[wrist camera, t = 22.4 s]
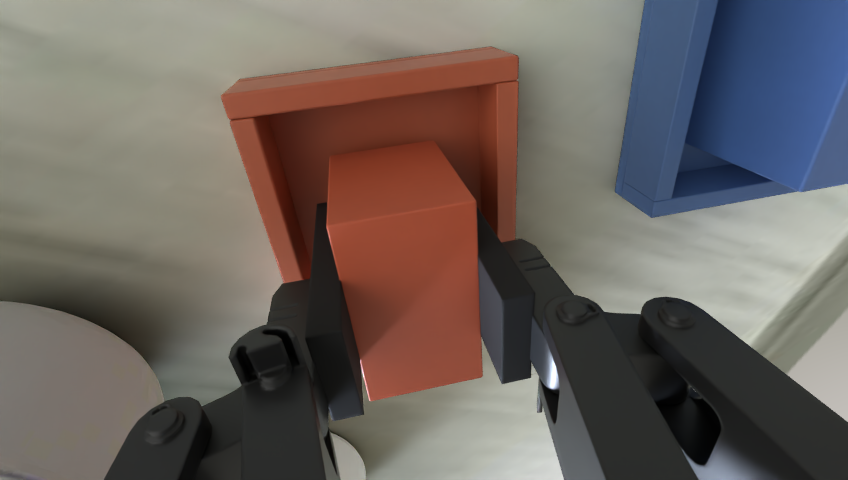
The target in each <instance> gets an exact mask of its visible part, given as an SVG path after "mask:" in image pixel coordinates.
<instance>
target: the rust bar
mask: <svg viewBox="0 0 848 480" xmlns="http://www.w3.org/2000/svg"><path fill="white" fill-rule="evenodd" d="M326 228H327V232H328V236H329V240H330V244H331V248H332V252H333V256H334V260H335V264H336V268H337V272H338V276H339V280H341V284H342V288H343V292H344V296H345V300H346V304H347V308H348V312H349V316H350V320H351V324H352V328H353V332H354V336H355V340H356V344H357V348H358V352H359V357H360V364H361V369H362V373H363V377H364V381H365V385H366V389H367V393H368V397H369V400H370V401H374V400H379V399H384V398H388V397H393V396H397V395H402V394H407V393H411V392H416V391H421V390H425V389H430V388H435V387H439V386H444V385H448V384H453V383H458V382H462V381H467V380H472V379H476V378H481V377H482V376H483V370H482V342H481V330H480V303H479V277H478V231H477V203H476V200H475V199H474V197H473V196H472V194H471V193H470V191H469V190H468V189H467V187H466V186H465V184H464V183H463V181H462V180H461V179H460V177H459V176H458V174H457V173H456V171H455V170H454V168H453V167H452V166H451V164H450V163H449V161H448V160H447V158H446V157H445V156H444V154H443V153H442V151H441V150H440V148H439V147H438V146H437V144H436V143H435V141H434V140H431V141H425V142H418V143H411V144H405V145H398V146H392V147H385V148H379V149H372V150H365V151H359V152H352V153H346V154H339V155H332V156H330V159H329V181H328V202H327V223H326Z"/></svg>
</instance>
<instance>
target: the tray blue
mask: <svg viewBox="0 0 848 480" xmlns="http://www.w3.org/2000/svg"><path fill="white" fill-rule="evenodd" d="M717 4H718V0H645V3H644V9H643V16H642V22H641V28H640V35H639V41H638V48H637V54H636V60H635V67H634V73H633V79H632V86H631V92H630V98H629V105H628V111H627V118H626V124H625V130H624V137H623V143H622V149H621V156H620V162H619V169H618V175H617V181H616V188H615V192H616V193H617V194H618V195H620V196H622V197H623V198H624V199H625V200H627V201H628V202H630V203H631V204H633V205H634V206H635V207H637V208H638V209H640V210H641V211H642V212H644V213H645V214H647V215H648V216H650V217H651V218H653V217H659V216H665V215H670V214H676V213H681V212H687V211H692V210H698V209H703V208H709V207H714V206H720V205H725V204H731V203H736V202H742V201H747V200H753V199H758V198H764V197H769V196H775V195H780V194H786V193H791V192H797V191H796V190H794V189H792V188H789V187H787V186H785V185H782V184H780V183H777V182H775V181H773V180H770V179H768V178H766V177H763V176H761V175H759V174H756V173H754V172H752V171H749V170H747V169H744V168H742V167H740V166H737V165H735V164H733V163H730V162H728V161H726V160H723V159H721V158H719V157H716V156H714V155H712V154H709V153H707V152H704V151H702V150H700V149H697V148H695V147H693V146H690V145H688V144H686V143H685V139H686V135H687V131H688V126H689V122H690V118H691V114H692V109H693V105H694V101H695V97H696V93H697V88H698V84H699V80H700V76H701V71H702V67H703V63H704V59H705V55H706V50H707V46H708V42H709V38H710V33H711V29H712V25H713V21H714V17H715V12H716V8H717Z"/></svg>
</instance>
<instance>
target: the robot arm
mask: <svg viewBox="0 0 848 480" xmlns="http://www.w3.org/2000/svg"><path fill="white" fill-rule="evenodd" d="M326 223H327V202H325V203H319V204H317V208H316V219H315V231H314V242H313V253H312V264H311V275H310V279H305V280H299V281H294V282H288V283H283V284H282V285H281V286H280V288H279V289H278V290H277V291H276V293H275V294H274V295H273V297H272V302H271V307H270V312H269V317H268V322H267V325H263V326H260V327H258V328H256V329H253V330H251V331H249V332H248V333H246V334H245V335H244V336H242V337H241V338H239V340H238V341H237V342H236V343H235V344H234V346H233V347H232V348H231V351H230V355H229V359H230V361H231V363H232V365H233V368H234V370H235V372H236V374H237V376H238V378H239V380H240V382H241V384H242V386H241V387H239V388H238V389H237V390H235V391H233V392H231V393H230V394H228V395H226V396H224V397H222V398H219V399H217V400H215V401H213V402H211V403H208V404H206V405H204V406H201V405H200V403H199V401H197V400H195V399H193V398H191V397H178V398H174V399H171V400H168V401H165V402H163V403H161V404H159V405H157V406H156V407H154V408H152V409H150V410H149V411H148V412H147V413H146V414H145V415H143V416H142V417H141V418H140V419H139V420H138V421H137V422H136V424H135V425H134V426H133V428H132V429H131V431H130V432H129V434H128V436H127V437H126V439H125V441H124V443H123V445H122V447H121V449H120V450H119V452H118V454H117V456H116V458H115V460H114V461H113V463H112V465H111V467H110V469H109V471H108V473H107V474H106V476H105V478H104V480H341V479H340V474H339V469H338V464H337V459H336V454H335V449H334V444H333V439H332V436H331V433H330V430H329V427H328V413H329V412H330V415H331V418H332V421H337V420H341V419H346V418H350V417H355V416H359V415H364V408H363V393H362V378H361V364H360V357H359V352H358V348H357V344H356V340H355V336H354V332H353V328H352V324H351V320H350V316H349V312H348V308H347V304H346V300H345V296H344V292H343V288H342V284H341V280H339V276H338V272H337V268H336V264H335V260H334V256H333V252H332V248H331V244H330V240H329V236H328V232H327V228H326ZM477 231H478V277H479V303H480V330H481V337H482V339H483V341H484V344H485V346H486V348H487V351H488V353H489V355H490V358H491V360H492V362H493V365H494V367H495V369H496V372H497V374H498V376H499V379H500V381H501V383H502V384H505V383H509V382H514V381H518V380H523V379H527V378H531V362H532V364H533V366H534V368H535V370H536V371H537V373H538V375H539V384H538V398H537V413H540V412H542V405H543V408H544V412H545V415H546V419H547V422H548V426H549V429H550V432H551V436H552V439H553V443H554V446H555V450H556V453H557V457H558V460H559V463H560V467H561V470H562V474H563V477H564V480H848V422H847V421H845V420H844V419H843V418H842V417H840V416H839V415H838V414H836V413H835V412H834V411H833V410H831V409H830V408H829V407H827V406H826V405H825V404H823V403H822V402H821V401H820V400H818V399H817V398H816V397H814V396H813V395H812V394H811V393H809V392H808V391H807V390H806V389H804V388H803V387H802V386H800V385H799V384H798V383H796V382H795V381H794V380H792V379H791V378H790V377H789V376H787V375H786V374H785V373H784V372H782V371H781V370H780V369H778V368H777V367H776V366H775V365H773V364H772V363H771V362H769V361H768V360H767V359H766V358H764V357H763V356H762V355H760V354H759V353H758V352H757V351H755V350H754V349H753V348H751V347H750V346H749V345H747V344H746V343H745V342H744V341H742V340H741V339H740V338H738V337H737V336H736V335H735V334H733V333H732V332H731V331H729V330H728V329H727V328H726V327H724V326H723V325H722V324H720V323H719V322H718V321H717V320H715V319H714V318H713V317H711V316H710V315H709V314H708V313H706V312H705V311H704V310H702V309H701V308H699V307H697V306H696V305H694V304H692V303H690V302H687V301H684V300H681V299H678V298H671V297H659V298H653V299H651V300H649V301H647V302H646V303H645V304H644V306H643V307H642V311H641V314H621V313H608V312H604V311H603V310H602V309H601V308H600V307H599V305H598V304H597V303H595V302H593V301H591V300H590V299H588V298H585V297H581V296H577V295H574V294H573V293H572V291H571V290H570V289H569V288H568V286H567V285H566V284H565V283H564V281H563V280H562V279H561V278H560V276H559V275H558V274H557V273H556V271H555V270H554V269H553V268H552V267H550V264H549V263H548V261H547V260H546V259H545V258H544V256H543V255H542V254H541V253H540V251H539V250H538V249H537V248H536V246H534V245H532V244H531V243H529V242H527V241H525V240H523V239H518V240H512V241H507V242H501V241H500V240H499V238H498V237H497V235H496V234H495V232H494V231H493V229H492V228H491V226H490V225H489V223H488V222H487V220H486V219H485V217H484V216H483V215H482V213H481V212H480V210H479V209H478V207H477Z"/></svg>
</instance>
